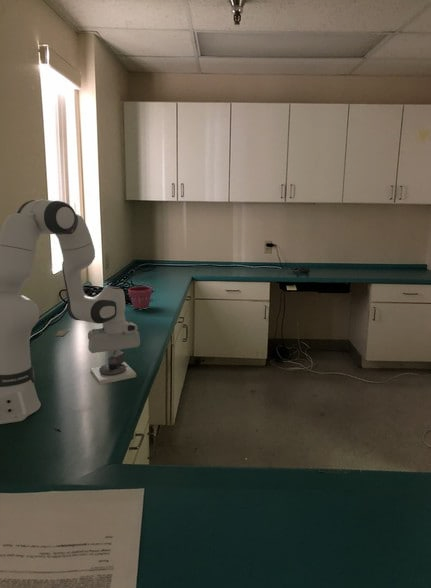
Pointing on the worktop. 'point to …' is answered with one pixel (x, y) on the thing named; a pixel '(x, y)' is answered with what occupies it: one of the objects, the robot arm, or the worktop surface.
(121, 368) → the dial
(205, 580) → the worktop surface
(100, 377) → the dial base
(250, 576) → the worktop surface
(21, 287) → the robot arm
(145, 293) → the plant pot
